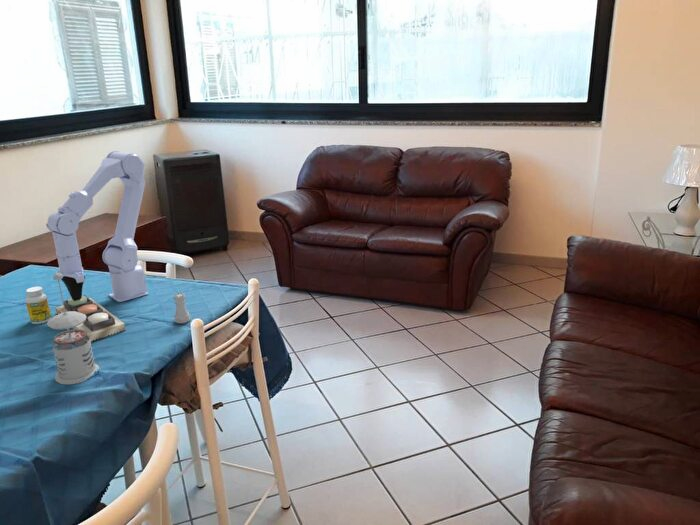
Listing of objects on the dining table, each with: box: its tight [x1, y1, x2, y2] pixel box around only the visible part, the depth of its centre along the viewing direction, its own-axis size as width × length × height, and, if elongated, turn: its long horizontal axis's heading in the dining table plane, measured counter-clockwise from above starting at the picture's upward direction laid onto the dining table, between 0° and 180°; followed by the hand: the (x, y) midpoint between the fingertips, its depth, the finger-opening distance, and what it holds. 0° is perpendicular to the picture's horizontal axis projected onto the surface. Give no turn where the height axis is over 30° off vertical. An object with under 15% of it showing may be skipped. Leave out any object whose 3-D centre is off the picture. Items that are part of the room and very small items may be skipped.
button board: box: [55, 295, 126, 343], centre depth 161 cm, size 10×25×4 cm, turn 43°
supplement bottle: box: [25, 286, 52, 325], centre depth 161 cm, size 5×5×10 cm
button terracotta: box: [77, 304, 98, 314], centre depth 160 cm, size 5×5×2 cm
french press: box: [46, 273, 100, 385], centre depth 131 cm, size 10×12×25 cm
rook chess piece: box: [173, 292, 191, 325], centre depth 159 cm, size 4×4×8 cm
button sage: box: [67, 295, 88, 307], centre depth 166 cm, size 5×5×2 cm
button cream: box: [88, 313, 109, 324], centre depth 155 cm, size 5×5×2 cm
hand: (77, 299), depth 165 cm, fingers closed, pressing on button sage
